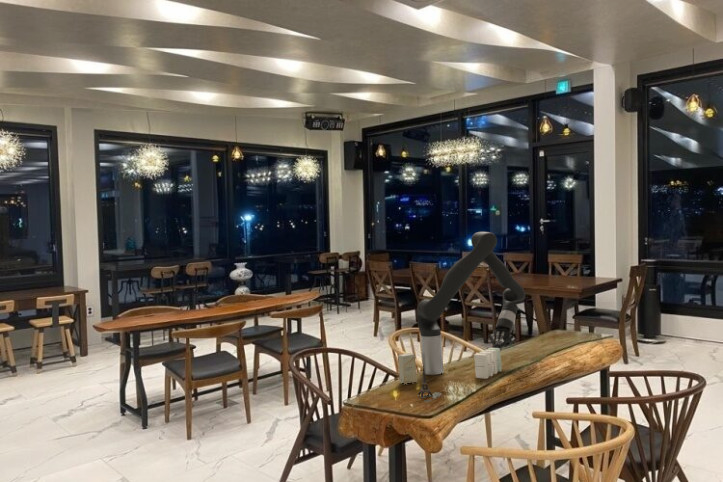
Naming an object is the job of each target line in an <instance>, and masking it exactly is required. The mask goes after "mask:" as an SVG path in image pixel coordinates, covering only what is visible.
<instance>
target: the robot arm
mask: <svg viewBox="0 0 723 482" xmlns="http://www.w3.org/2000/svg"><path fill="white" fill-rule="evenodd" d="M470 240H471V241H470V242H471V246H472V247H473V248H472V250H471V251H470V252H469V253H467V254H466V255H465V256H463V257H461V258H460V259H459V260H457V261H456V262H455V263H454V264H453V265H452V266H451V267H450V269H449V270H447V273H446V274H445V275H444V277H443V280H442V283H441V286H440V287H439V289H438V291H437V292H436V293H435V294H434V295H433V296H432V297H431V299H423V300H420V301H419V303H418V304H417V307H416V316H417V325H418V326H417V327H418V330H419V332H420V333H419V334H420V344H421V347H420V348H421V359H422V360H421V361H422V366H423V365H424V371H425V375H427V376H428V375H429V376H434V375H441V373H442V374H444V372H445V371H444V361H443V360H444V357H443V346H442V345H443V343H442V333H441V332H442V331H441V328H440V326H439V324H438V321H437V320H438V319H440V318H441V316H442V314H443V313H444V311H445V310H446V308H447V306H448V305H449V303H450V302H451V300H452V299H453V298H454V297H455V295H457V293H458V292H459V290H460V289H462V287H463V285H465V283H466V282H467V281H468V280H469V279H470V277H471V276H472V274H473V273H474V272H475V271H476V270H477V268H478V266H479V265H481V264H482V262H484V263H486V265H487V266H488V268H489V269H490V271H491V272H492V274H493V275H494V277H495V279H496V280H497V281H496V282H497V283H498V284H499V286H500V287H501V288H505V289H504V290H503V293H502V307H501V312H500V313H499V315H498V319H497V322H496V325H495V329H494V331H493V333H491V334H490V333H489V334H487V336H488V339H489V340H490V342H491V344H492V345H493V347H494V348H500V353H501V352H502V349H503V348H507V347H508V346H509V345H511V344H512V343H514V341H515V340H516V338H515V336H514V335H513V334H512V332H513V329H514V326H515V323H516V316H517V313H518V309H519V307H518V304H516V302H517V303H518V302H522V301H524V300H525V299H526V291H525V289H524V287H523V286H522V285H521V284H520V283H519V282H518V281H517V280H516V279H514V277H513V275H512V274H511V272H510V270H509V268H508V267H507V266H506V265H505V264H504V263H503V261H501V259H500V258H498V256H497V255H496V254H495V253H494V251H493V250H495V247H496V246H497V244H498V243H497V242H498V238H497V236H496V235H495V234H494V232H489V231H478V232H475V233H474V234H473V235H472V236H471V239H470ZM494 339H495V340H494Z"/></svg>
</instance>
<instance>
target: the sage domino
mask: <svg viewBox="0 0 723 482" xmlns="http://www.w3.org/2000/svg"><path fill="white" fill-rule="evenodd" d="M487 350H496V359H497V372H498V373H499V372H502V370H503V369H502V355H501V353H500V348H495V347H488V349H487Z"/></svg>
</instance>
